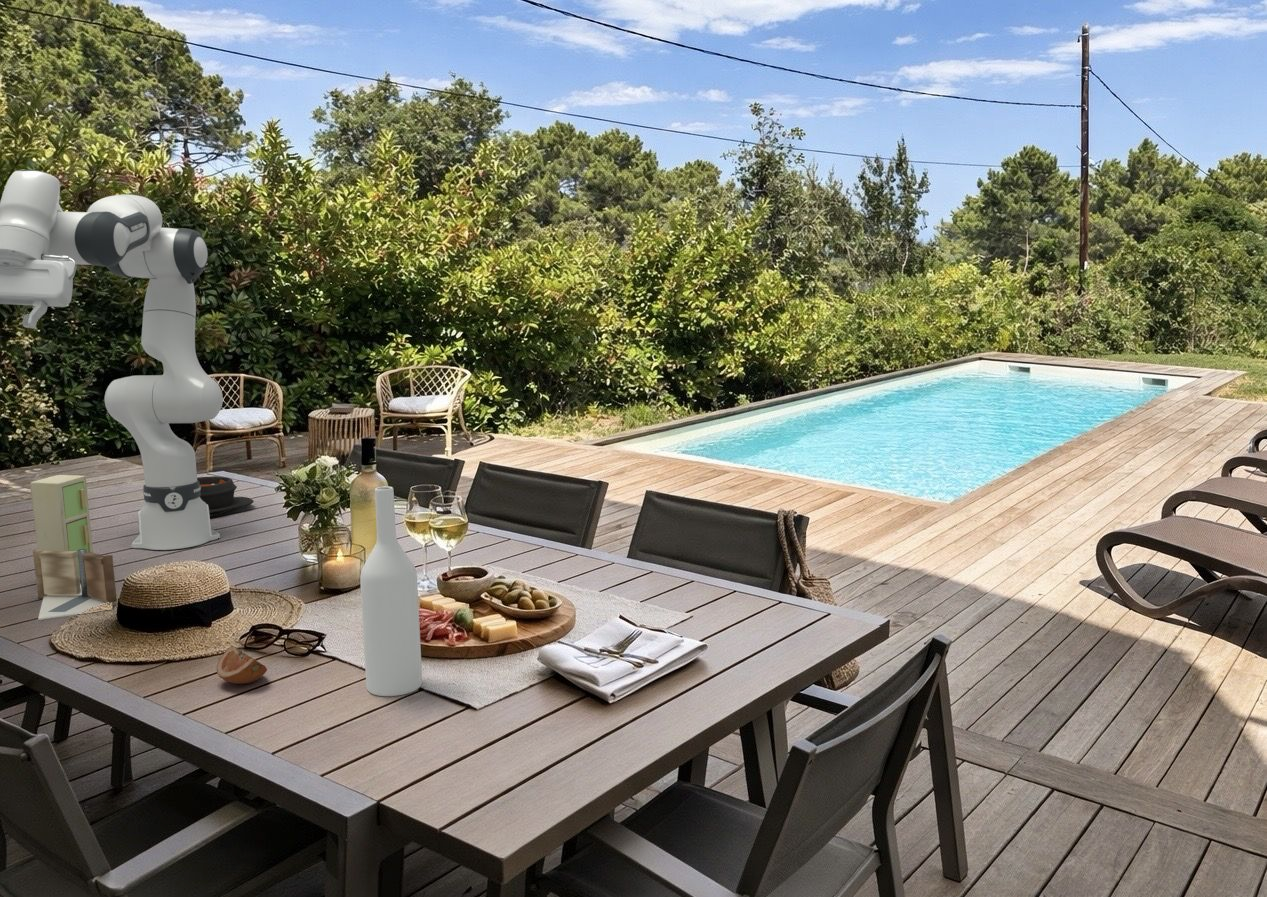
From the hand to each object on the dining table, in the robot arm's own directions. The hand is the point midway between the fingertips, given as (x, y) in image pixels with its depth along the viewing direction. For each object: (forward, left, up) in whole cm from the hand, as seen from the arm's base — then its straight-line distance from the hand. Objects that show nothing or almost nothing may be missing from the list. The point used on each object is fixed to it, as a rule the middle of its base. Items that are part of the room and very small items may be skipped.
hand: (0, 325), depth 179 cm
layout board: (-10, +7, -53) cm, 54 cm away
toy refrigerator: (-27, +5, -53) cm, 60 cm away
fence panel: (-6, +11, -52) cm, 53 cm away
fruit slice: (+49, +31, -53) cm, 79 cm away
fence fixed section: (-13, +4, -53) cm, 55 cm away
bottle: (+61, +51, -53) cm, 95 cm away
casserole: (-81, +34, -53) cm, 103 cm away
